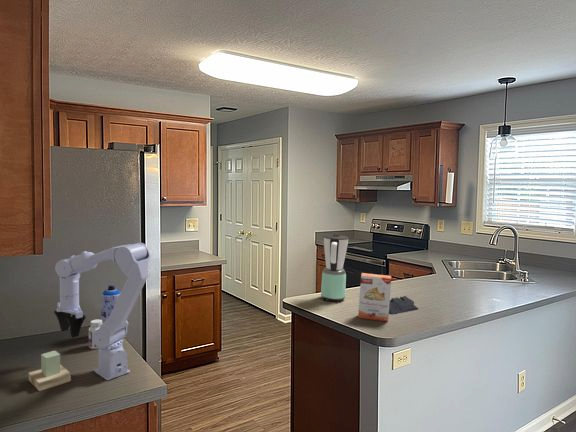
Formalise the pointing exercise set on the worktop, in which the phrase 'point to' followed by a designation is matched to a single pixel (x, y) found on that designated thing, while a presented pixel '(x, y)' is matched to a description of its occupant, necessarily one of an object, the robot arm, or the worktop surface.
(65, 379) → the birch block
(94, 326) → the pill bottle
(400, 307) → the dark slate chunk
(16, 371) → the worktop surface
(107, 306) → the aerosol can
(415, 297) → the worktop surface
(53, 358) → the green block
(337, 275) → the mint green blender
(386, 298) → the cracker box
